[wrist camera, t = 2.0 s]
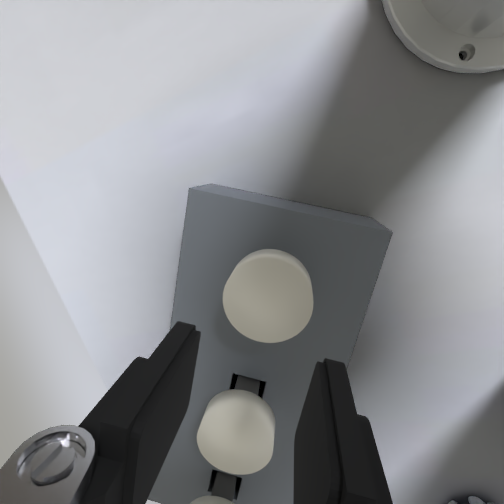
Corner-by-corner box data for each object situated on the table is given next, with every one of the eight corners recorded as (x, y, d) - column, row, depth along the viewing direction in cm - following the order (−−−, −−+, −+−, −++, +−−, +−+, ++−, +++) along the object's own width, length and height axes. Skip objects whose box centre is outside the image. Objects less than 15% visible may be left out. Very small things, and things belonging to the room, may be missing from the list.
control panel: (211, 183, 23) (189, 188, 18) (372, 217, 22) (392, 232, 18) (170, 447, 31) (147, 499, 26) (289, 481, 30) (288, 542, 25)
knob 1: (208, 434, 26) (182, 516, 20) (260, 449, 25) (249, 536, 19) (201, 473, 27) (173, 561, 21) (250, 487, 27) (236, 581, 21)
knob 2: (250, 225, 21) (230, 249, 15) (316, 239, 20) (324, 270, 14) (238, 285, 22) (216, 330, 16) (300, 300, 22) (301, 352, 15)
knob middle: (227, 341, 23) (202, 403, 17) (285, 356, 23) (281, 424, 17) (217, 389, 24) (192, 462, 18) (272, 403, 24) (264, 483, 18)
